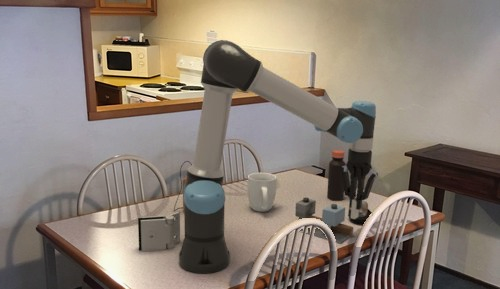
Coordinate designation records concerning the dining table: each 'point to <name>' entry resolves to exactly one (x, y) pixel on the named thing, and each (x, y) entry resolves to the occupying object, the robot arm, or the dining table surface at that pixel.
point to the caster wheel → (360, 214)
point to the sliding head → (333, 215)
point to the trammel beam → (307, 210)
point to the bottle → (336, 176)
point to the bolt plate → (338, 235)
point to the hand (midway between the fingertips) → (354, 217)
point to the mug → (261, 191)
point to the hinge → (159, 232)
